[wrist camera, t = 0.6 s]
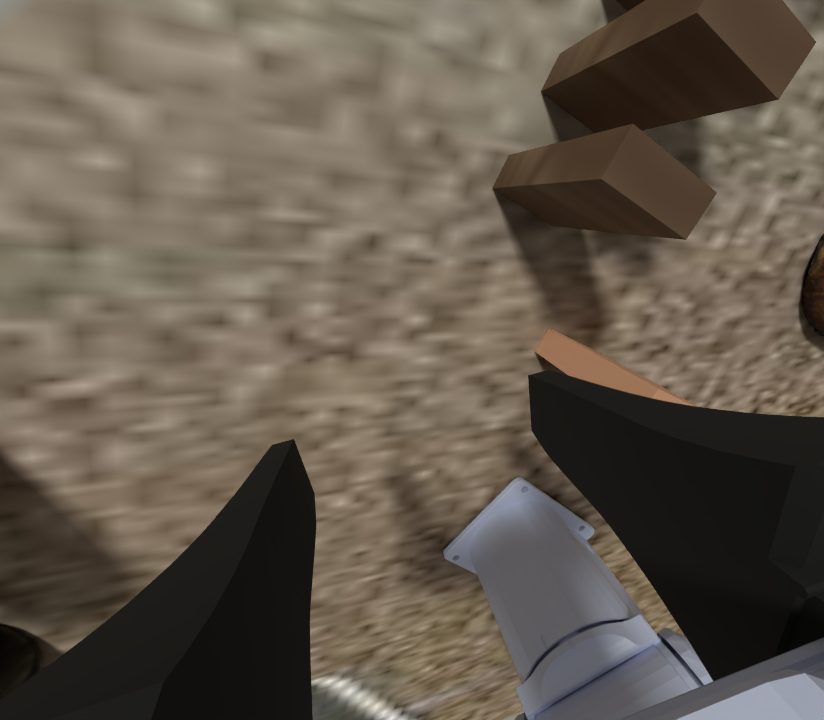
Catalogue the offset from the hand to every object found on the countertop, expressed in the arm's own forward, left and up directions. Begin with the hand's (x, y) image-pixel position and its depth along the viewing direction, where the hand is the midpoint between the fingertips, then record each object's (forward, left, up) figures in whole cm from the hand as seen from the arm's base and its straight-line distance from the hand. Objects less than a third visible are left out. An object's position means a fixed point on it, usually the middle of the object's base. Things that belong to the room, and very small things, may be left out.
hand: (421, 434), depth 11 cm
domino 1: (0, -15, -10) cm, 18 cm away
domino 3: (-10, -6, -10) cm, 15 cm away
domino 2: (-1, -10, -10) cm, 14 cm away
